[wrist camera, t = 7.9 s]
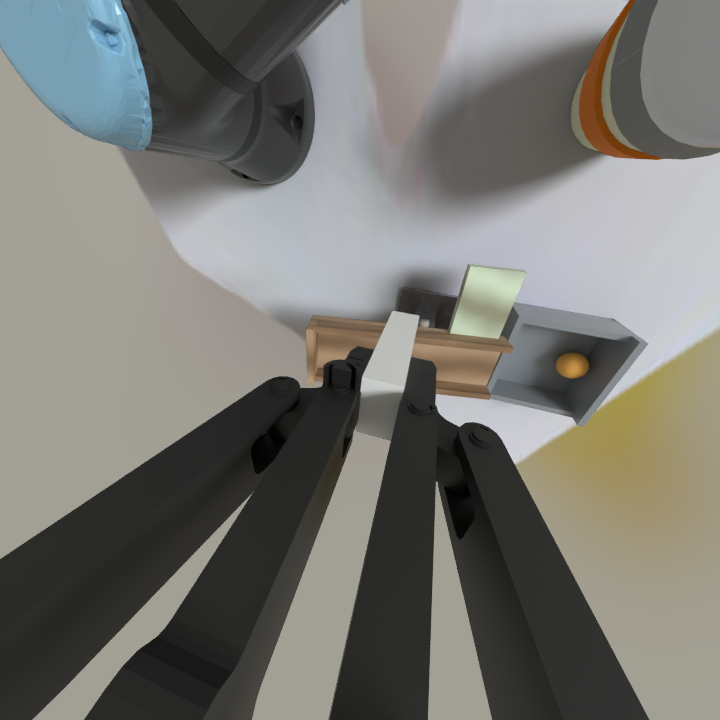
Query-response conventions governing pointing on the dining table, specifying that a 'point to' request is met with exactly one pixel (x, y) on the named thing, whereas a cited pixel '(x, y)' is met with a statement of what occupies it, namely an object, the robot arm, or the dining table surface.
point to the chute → (436, 334)
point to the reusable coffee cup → (654, 83)
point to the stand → (428, 306)
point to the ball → (572, 365)
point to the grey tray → (543, 348)
